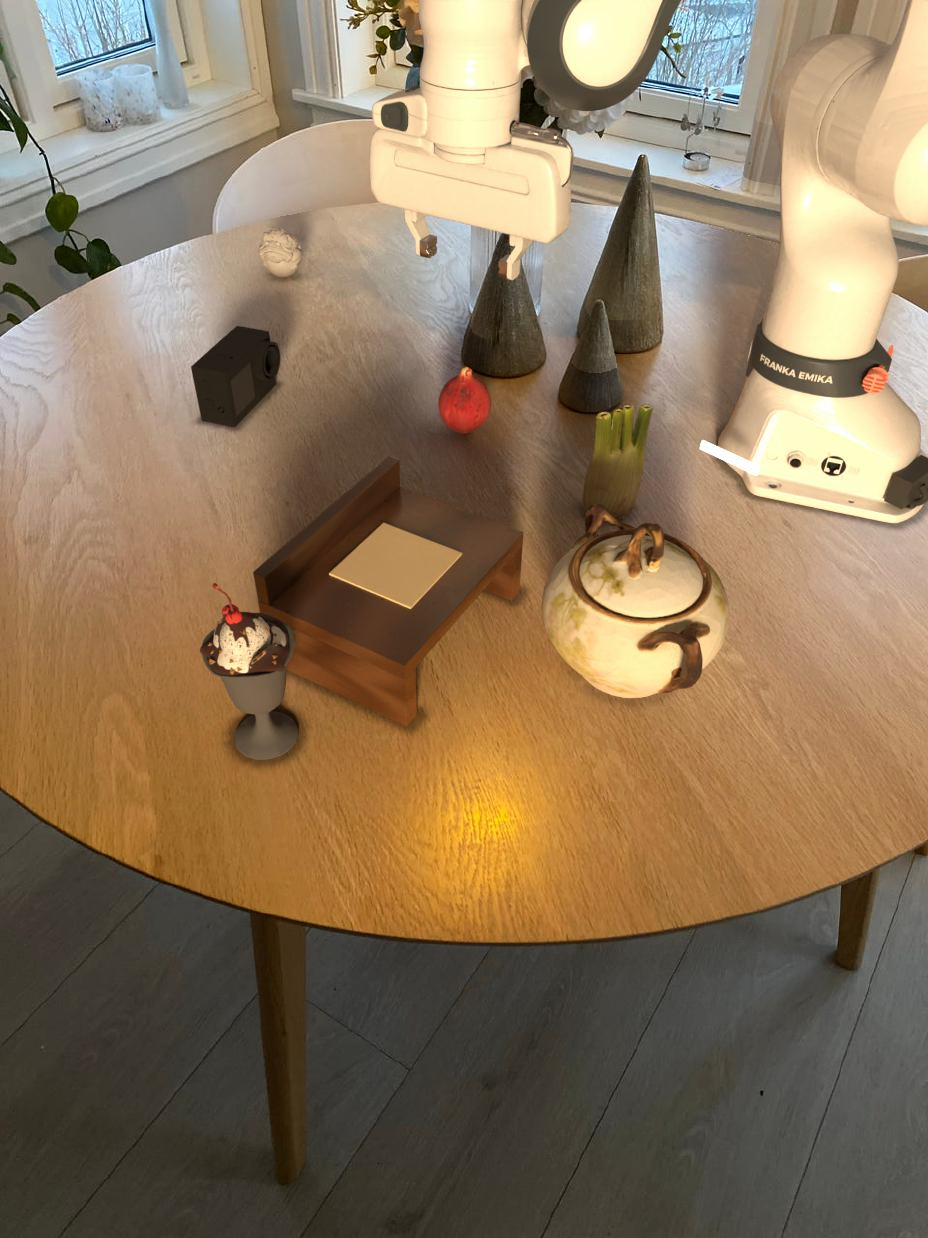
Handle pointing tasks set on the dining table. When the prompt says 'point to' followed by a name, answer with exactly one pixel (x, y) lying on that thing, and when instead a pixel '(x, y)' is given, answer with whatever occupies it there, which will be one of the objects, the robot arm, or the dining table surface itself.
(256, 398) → the digital camera
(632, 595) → the sugar bowl
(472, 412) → the pomegranate
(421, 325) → the dining table surface
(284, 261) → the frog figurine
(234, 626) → the sundae
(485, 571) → the shelf
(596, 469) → the fennel bulb
